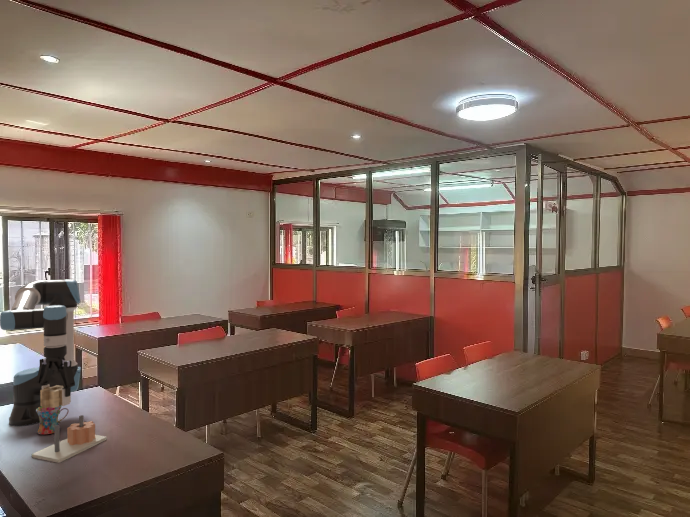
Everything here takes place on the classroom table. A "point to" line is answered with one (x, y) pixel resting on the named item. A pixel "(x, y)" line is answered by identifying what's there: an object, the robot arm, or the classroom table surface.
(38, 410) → the mug
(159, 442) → the classroom table surface
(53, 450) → the gear board
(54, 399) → the gear
